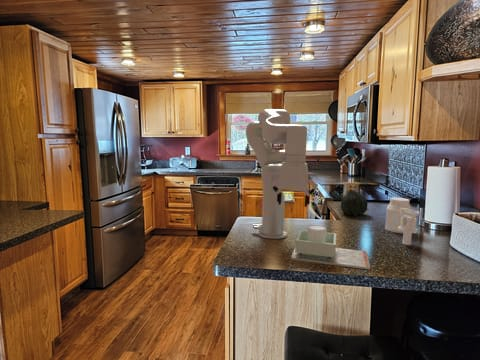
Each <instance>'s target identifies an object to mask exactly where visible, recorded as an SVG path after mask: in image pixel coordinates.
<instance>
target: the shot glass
mask: <svg viewBox="0 0 480 360" xmlns="http://www.w3.org/2000/svg"><path fill="white" fill-rule="evenodd" d="M307 231H308V241H313V242H322V243H325V237H326V233H327V227H325V226H323V225H318V224H317V225H316V224H314V225H313V224H311V225H308V226H307Z"/></svg>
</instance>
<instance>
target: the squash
mask: <svg viewBox="0 0 480 360" xmlns="http://www.w3.org/2000/svg"><path fill="white" fill-rule="evenodd" d="M367 200H368V199H366V197H365V196H364V195H363V194H362V193H360V192H359V193H358V192H356V191H354V190H349V191H348V192H347V193H346V195H345V196H344V197H343V196H342V198H341V202H340V210H341V211H342V212H343V213H344V214H345V215H349V216H356V217H357V216H359V215H364V214H365V213H366V212H367V210H368V201H367Z"/></svg>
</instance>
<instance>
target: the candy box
mask: <svg viewBox="0 0 480 360" xmlns="http://www.w3.org/2000/svg"><path fill="white" fill-rule="evenodd" d="M349 190H354V191H356V192H358V193H360V182H356V181H355V182H353V181H351V182H349V181H348V182H345V181H344V182H343V191H342V192H343V194H342V195H343V196H342V198H343V197H344V196H345V195H346V193H347V192H348V191H349Z"/></svg>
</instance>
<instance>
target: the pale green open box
mask: <svg viewBox="0 0 480 360" xmlns="http://www.w3.org/2000/svg"><path fill="white" fill-rule="evenodd" d="M336 246H337V233H332V232H326V237H325V243H322V242H313V241H308V230H306V229H305V230H304V229H303V230H302V229H300V230H299V232H298V234H297V237H296V239H295V248H294V249H295V253H299V255H302V253H303V254H311V255H319V256H328V259H331V257H335V251H336V248H337V247H336Z"/></svg>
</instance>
